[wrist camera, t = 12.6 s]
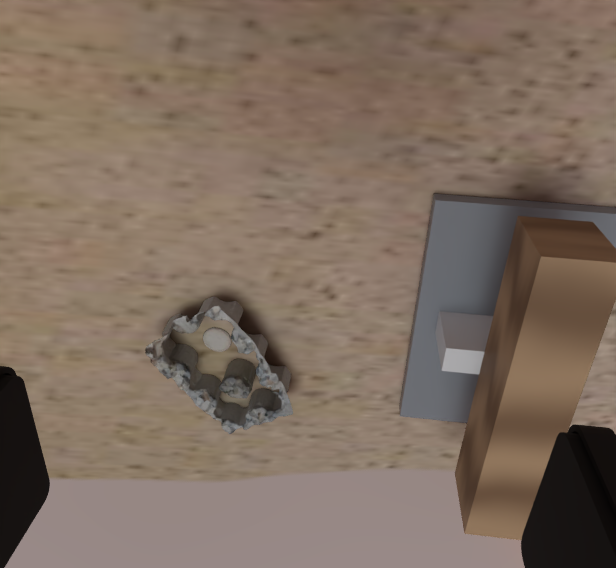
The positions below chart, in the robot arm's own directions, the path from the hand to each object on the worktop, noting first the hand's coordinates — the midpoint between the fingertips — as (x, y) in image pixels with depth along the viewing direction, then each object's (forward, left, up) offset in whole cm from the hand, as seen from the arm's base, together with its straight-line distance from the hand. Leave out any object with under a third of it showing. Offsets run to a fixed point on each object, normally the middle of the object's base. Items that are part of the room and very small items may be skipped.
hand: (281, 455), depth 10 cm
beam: (+14, +12, -23) cm, 29 cm away
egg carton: (+20, -8, -29) cm, 36 cm away
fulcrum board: (+14, +12, -28) cm, 34 cm away
